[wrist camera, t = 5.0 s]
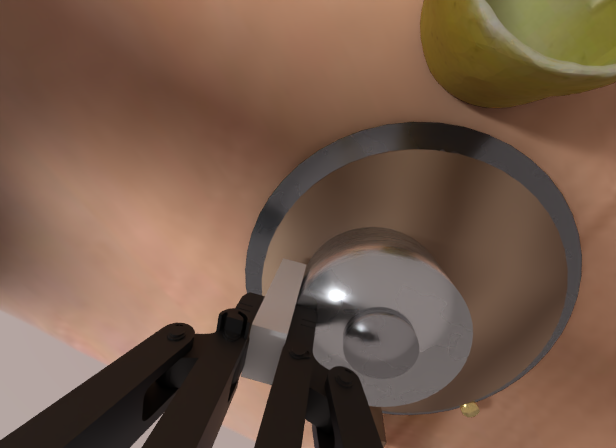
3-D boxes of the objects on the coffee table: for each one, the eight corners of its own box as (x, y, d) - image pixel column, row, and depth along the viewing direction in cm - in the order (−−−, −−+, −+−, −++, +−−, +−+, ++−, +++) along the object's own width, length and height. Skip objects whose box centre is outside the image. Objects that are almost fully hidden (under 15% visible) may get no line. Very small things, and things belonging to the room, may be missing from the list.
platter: (236, 406, 24) (213, 465, 20) (296, 114, 17) (281, 108, 13) (460, 470, 24) (486, 544, 19) (622, 194, 16) (721, 215, 12)
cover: (288, 328, 21) (271, 391, 16) (321, 209, 18) (314, 239, 13) (412, 364, 20) (436, 440, 15) (466, 249, 18) (516, 295, 13)
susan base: (227, 367, 25) (221, 381, 23) (279, 83, 18) (274, 79, 16) (487, 440, 24) (496, 458, 22) (648, 172, 17) (674, 175, 16)
